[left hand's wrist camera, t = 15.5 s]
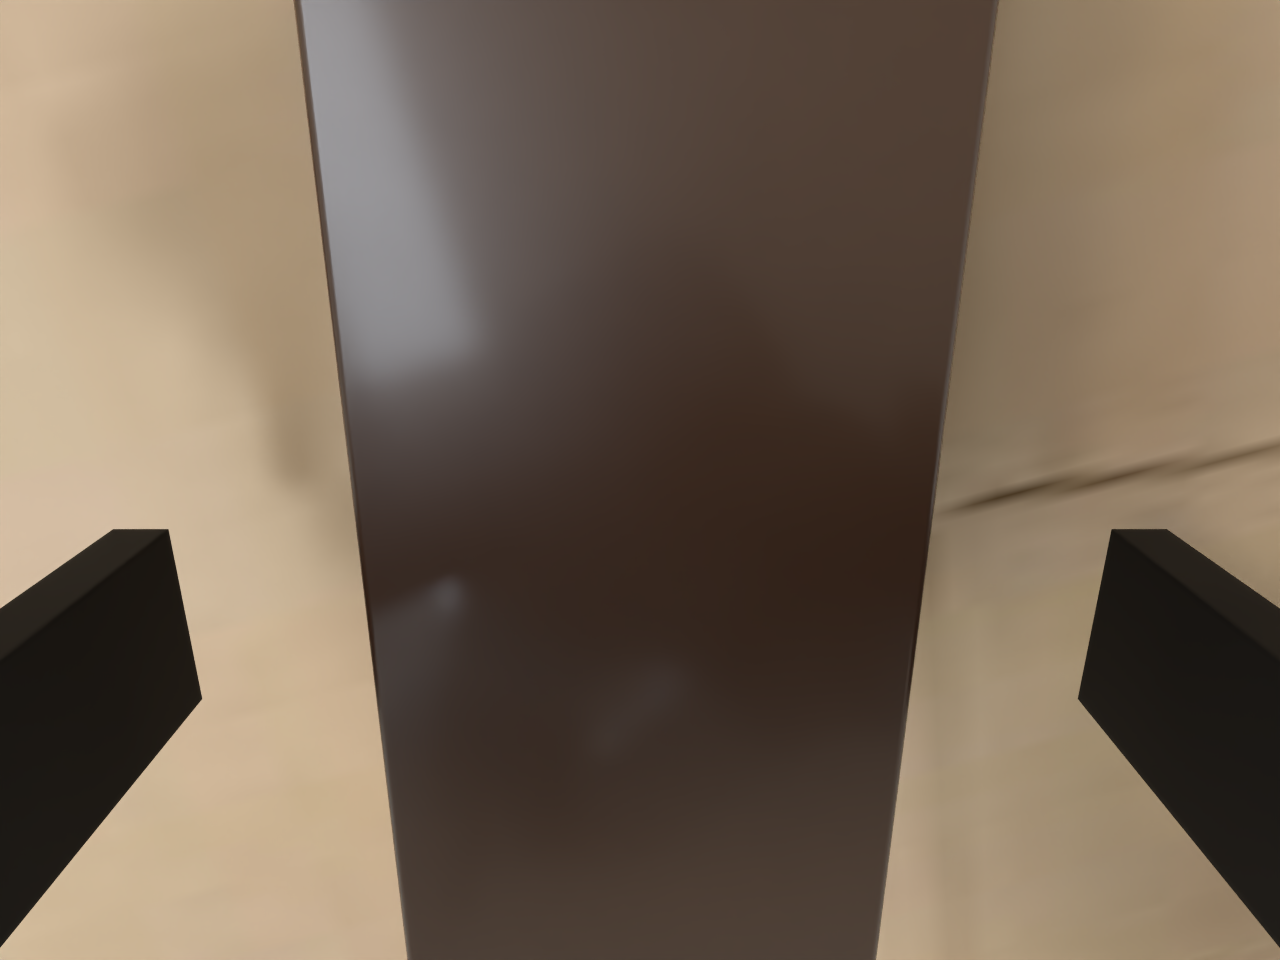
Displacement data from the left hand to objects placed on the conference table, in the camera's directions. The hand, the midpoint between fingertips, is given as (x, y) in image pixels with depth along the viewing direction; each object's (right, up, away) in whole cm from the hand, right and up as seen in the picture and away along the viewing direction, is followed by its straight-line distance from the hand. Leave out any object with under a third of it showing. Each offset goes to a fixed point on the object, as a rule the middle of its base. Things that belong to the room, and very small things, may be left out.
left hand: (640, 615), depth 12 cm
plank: (0, +12, 0) cm, 12 cm away
